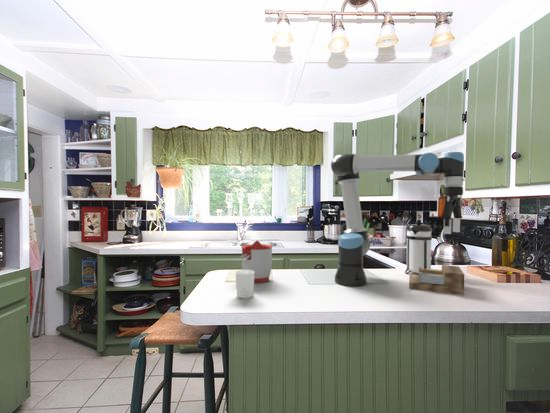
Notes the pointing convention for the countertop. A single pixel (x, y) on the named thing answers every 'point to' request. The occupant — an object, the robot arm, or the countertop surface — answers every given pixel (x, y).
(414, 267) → the coffee press
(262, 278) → the citrus juicer
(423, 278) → the grey steel plug
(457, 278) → the socket block
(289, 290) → the countertop surface
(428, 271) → the brass plug
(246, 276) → the white cup
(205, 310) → the countertop surface
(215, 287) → the countertop surface
